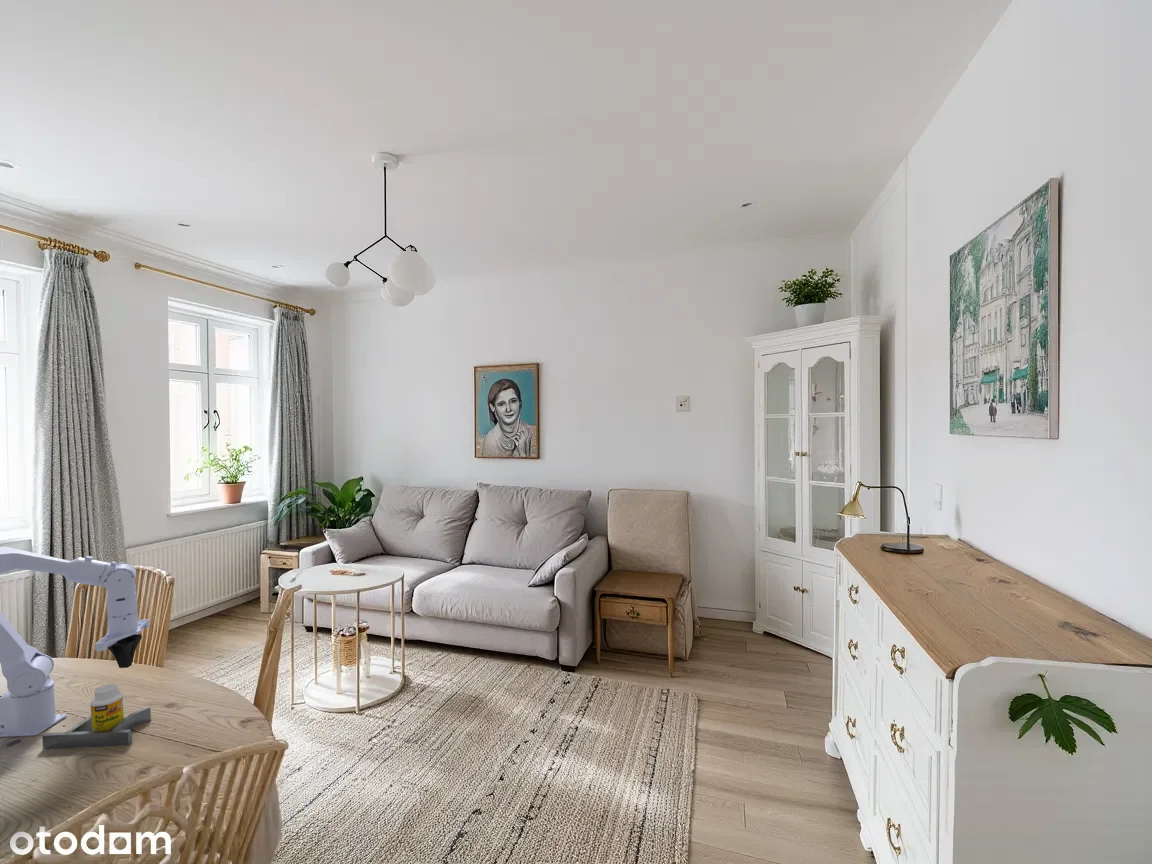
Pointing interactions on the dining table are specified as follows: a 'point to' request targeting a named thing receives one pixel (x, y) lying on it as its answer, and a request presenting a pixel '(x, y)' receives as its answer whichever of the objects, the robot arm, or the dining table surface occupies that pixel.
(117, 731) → the stop cradle
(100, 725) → the supplement bottle
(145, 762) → the dining table surface
